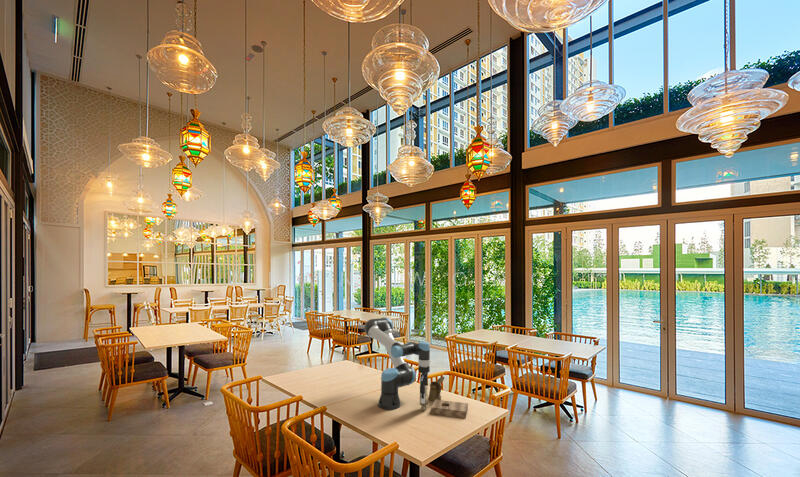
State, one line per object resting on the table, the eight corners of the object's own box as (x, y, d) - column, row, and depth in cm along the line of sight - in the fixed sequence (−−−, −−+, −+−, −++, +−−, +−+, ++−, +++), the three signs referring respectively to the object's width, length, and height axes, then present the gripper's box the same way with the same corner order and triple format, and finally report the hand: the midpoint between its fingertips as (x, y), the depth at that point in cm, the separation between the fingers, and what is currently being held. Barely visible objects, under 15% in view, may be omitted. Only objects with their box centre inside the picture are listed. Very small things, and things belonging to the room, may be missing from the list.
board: (431, 413, 229) (431, 407, 229) (435, 405, 242) (435, 399, 242) (465, 418, 223) (465, 411, 223) (467, 409, 236) (467, 403, 236)
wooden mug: (437, 404, 245) (437, 377, 246) (425, 398, 256) (426, 372, 258) (447, 401, 250) (447, 375, 251) (435, 395, 261) (435, 370, 262)
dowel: (418, 410, 233) (418, 387, 234) (420, 407, 239) (420, 384, 240) (427, 411, 232) (427, 388, 233) (428, 408, 237) (429, 385, 238)
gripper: (426, 370, 227) (426, 407, 226) (432, 362, 245) (432, 397, 243) (415, 369, 230) (415, 405, 228) (421, 361, 247) (421, 395, 246)
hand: (423, 401), depth 236 cm, fingers closed on dowel, 6 cm apart
